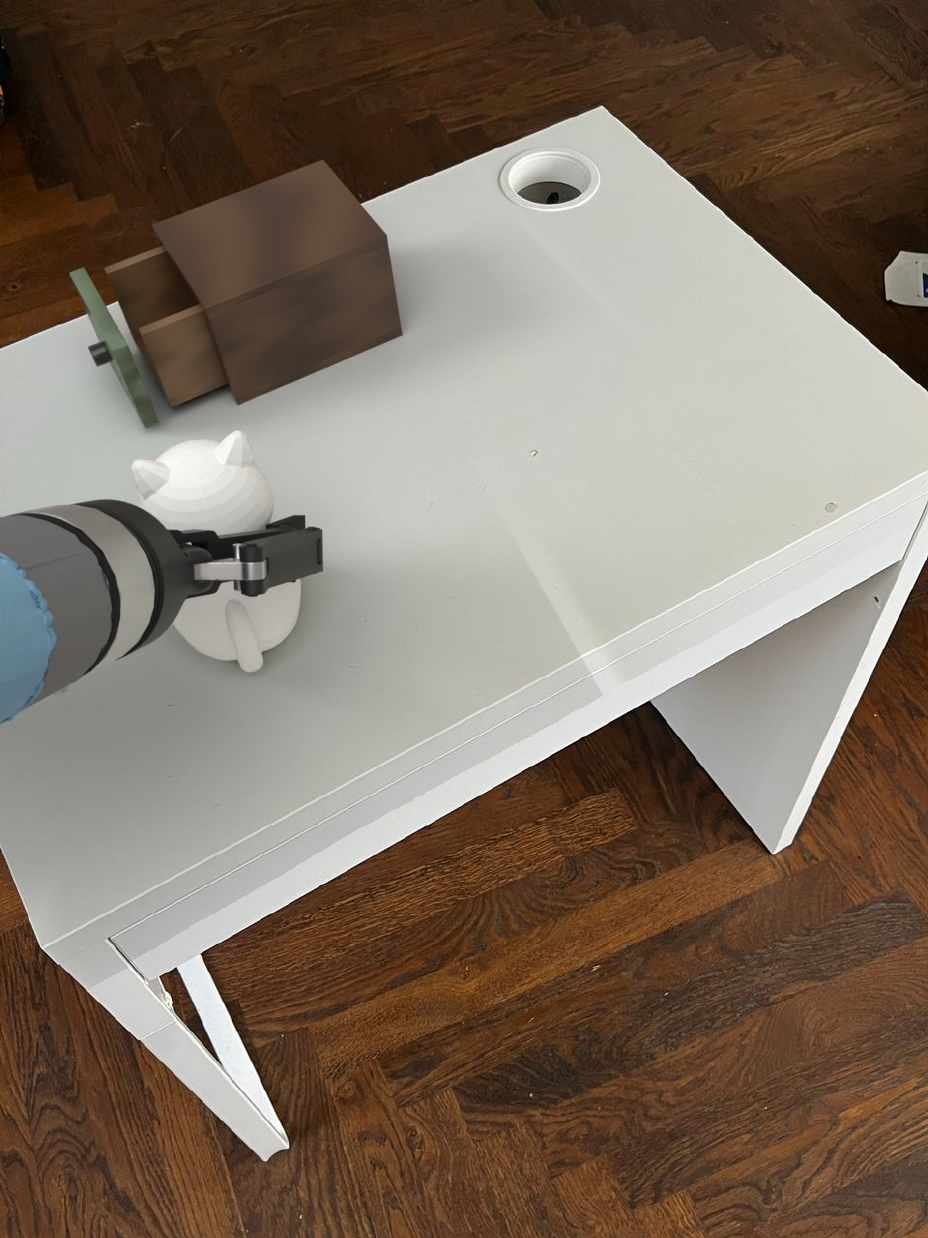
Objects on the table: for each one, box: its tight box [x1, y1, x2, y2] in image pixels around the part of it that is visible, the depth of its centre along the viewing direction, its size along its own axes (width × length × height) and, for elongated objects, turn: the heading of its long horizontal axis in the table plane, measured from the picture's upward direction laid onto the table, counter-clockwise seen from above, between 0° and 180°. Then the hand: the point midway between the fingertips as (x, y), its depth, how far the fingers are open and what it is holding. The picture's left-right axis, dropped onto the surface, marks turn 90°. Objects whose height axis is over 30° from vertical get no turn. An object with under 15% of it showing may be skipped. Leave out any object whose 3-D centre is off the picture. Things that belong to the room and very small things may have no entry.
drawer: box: [69, 246, 228, 429], centre depth 89 cm, size 15×10×8 cm
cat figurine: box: [130, 430, 302, 673], centre depth 71 cm, size 9×12×15 cm
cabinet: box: [151, 159, 403, 406], centre depth 91 cm, size 15×12×10 cm
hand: (232, 535), depth 75 cm, fingers closed on cat figurine, 8 cm apart
